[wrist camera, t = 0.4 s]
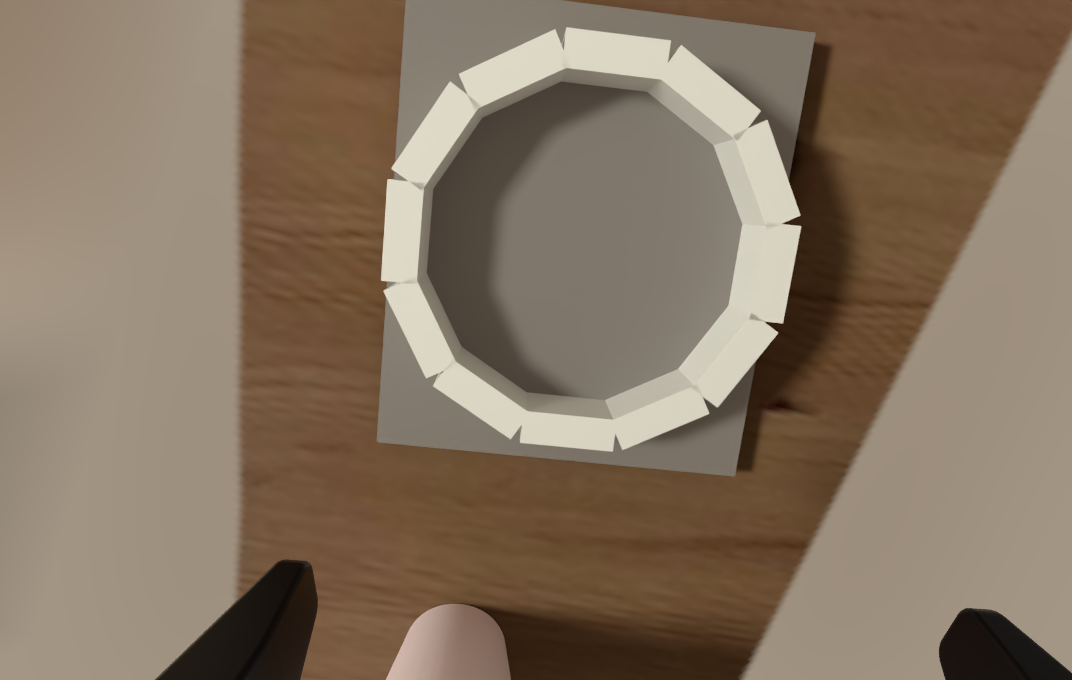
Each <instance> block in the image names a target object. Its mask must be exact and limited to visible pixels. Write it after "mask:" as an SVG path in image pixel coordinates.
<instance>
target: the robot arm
mask: <svg viewBox="0 0 1072 680" xmlns="http://www.w3.org/2000/svg"><path fill="white" fill-rule="evenodd" d="M317 607H318V598H317V592H316V586H315V581H314V575H313V569H312V566H311V564H310V563H309V562H307V561H299V560H281V561H279V562H277V563H276V564H275V565H273V566H272V567H271V568H270V569H269V570H268V571H267V572H266V573H265V574H264V575H263V576H262V577H261V578H260V579H259V580H258V581H257V582H256V583H255V584H254V585H253V586H252V587H251V588H250V589H249V590H247V591H246V592H245V593H244V594H243V595H242V596H241V597H240V598H239V599H238V600H237V601H236V602H235V603H234V604H233V605H232V606H231V607H230V608H229V609H228V610H227V611H226V612H225V613H224V614H223V615H222V616H221V617H219V618H218V619H217V620H216V622H214V623H213V624H212V625H211V626H210V627H209V628H208V629H207V630H206V631H205V632H204V633H203V634H202V635H201V636H200V637H199V638H198V639H197V640H196V641H195V642H194V643H192V644H191V645H190V646H189V647H188V648H187V649H186V650H185V651H184V652H183V653H182V654H181V655H180V656H179V657H178V658H177V659H176V660H175V661H174V662H173V663H172V664H171V665H170V666H169V667H168V668H167V669H166V670H164V671H163V672H162V673H161V674H160V675H159V676H158V677H157V678H156V679H155V680H300V678H301V674H302V670H303V666H304V662H305V658H306V654H307V650H308V646H309V642H310V638H311V635H312V631H313V627H314V623H315V619H316V614H317ZM939 657H940V662H941V666H942V669H943V673H944V676H945V679H946V680H1072V673H1071V672H1070V671H1069V670H1067V669H1066V668H1065V667H1064V666H1063V665H1062V664H1060V663H1059V662H1058V661H1057V660H1055V659H1054V658H1053V657H1052V656H1051V655H1050V654H1049V653H1047V652H1046V651H1045V650H1044V649H1043V648H1041V647H1040V646H1039V645H1037V643H1035V642H1034V641H1033V640H1032V639H1030V638H1029V637H1028V636H1027V635H1026V634H1025V633H1023V632H1022V631H1021V630H1020V629H1019V628H1017V627H1016V626H1015V625H1014V624H1013V623H1011V622H1010V621H1009V620H1008V619H1007V618H1005V617H1004V616H1003V615H1001V614H1000V613H998V612H996V611H993V610H987V609H973V608H966V609H964V610H962V611H961V612H960V613H959V614H958V615H957V617H956V619H955V620H954V622H953V623H952V625H951V626H950V628H949V629H948V631H947V633H946V634H945V636H944V638H943V639H942V641H941V643H940V647H939Z"/></svg>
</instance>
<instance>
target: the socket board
mask: <svg viewBox="0 0 1072 680" xmlns="http://www.w3.org/2000/svg"><path fill="white" fill-rule="evenodd" d="M815 34H816V33H813V32H805V31H797V30H789V29H781V28H774V27H766V26H758V25H750V24H742V23H734V22H727V21H719V20H711V19H703V18H695V17H687V16H680V15H672V14H664V13H656V12H648V11H641V10H633V9H625V8H617V7H609V6H601V5H594V4H586V3H578V2H570V1H562V0H406V5H405V21H404V36H403V51H402V66H401V81H400V96H399V111H398V127H397V142H396V157H395V164H394V165H393V167H392V168H391V169H392V170H394V171H395V172H394V180H392V179H388V181H387V196H386V212H385V227H384V243H383V259H382V274H381V281H387V289H385V290H384V291H383V292H384V294H385V296H386V308H385V323H384V339H383V354H382V369H381V384H380V399H379V414H378V429H377V442H380V443H390V444H401V445H411V446H422V447H432V448H443V449H453V450H464V451H474V452H485V453H495V454H505V455H516V456H526V457H537V458H547V459H558V460H568V461H579V462H589V463H600V464H610V465H621V466H631V467H641V468H652V469H662V470H673V471H683V472H694V473H704V474H715V475H725V476H735V473H736V467H737V462H738V456H739V451H740V446H741V440H742V435H743V429H744V424H745V418H746V413H747V407H748V402H749V396H750V391H751V385H752V380H753V374H754V369H755V363H756V360H757V359H758V358H759V356H760V355H761V354H762V353H763V351H764V350H765V349H766V348H767V347H768V345H769V344H770V343H771V342H772V340H773V339H774V338H775V337H776V335H777V334H778V332H777V331H775V330H774V329H773V328H771V327H770V326H769V325H768V324H766V323H765V322H773V323H783V321H784V316H785V310H786V305H787V300H788V294H789V289H790V284H791V278H792V273H793V268H794V262H795V257H796V252H797V247H798V241H799V236H800V231H801V226H796V225H787V224H782V223H785V222H787V221H789V220H791V219H794V218H796V217H798V216H801V215H800V212H799V209H798V206H797V204H796V201H795V198H794V195H793V192H792V189H791V186H790V183H789V177H790V171H791V166H792V160H793V155H794V149H795V144H796V138H797V133H798V127H799V122H800V117H801V111H802V106H803V100H804V95H805V89H806V84H807V78H808V73H809V67H810V62H811V56H812V51H813V45H814V40H815Z"/></svg>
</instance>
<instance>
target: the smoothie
mask: <svg viewBox="0 0 1072 680" xmlns="http://www.w3.org/2000/svg"><path fill="white" fill-rule="evenodd" d="M386 680H511V677H510V670H509V664H508V657H507V651H506V644H505V639H504V636H503V633H502V631H501V629H500V627H499V626H498V624H497V623H496V622H495V620H494V619H493V618H492V617H490V616H489V615H488V614H487V613H485V612H484V611H482V610H480V609H478V608H475V607H473V606H469V605H465V604H445V605H441V606H437V607H434V608H432V609H430V610H428V611H426V612H425V613H423V614H422V615H421V616H420V617H418V618H417V620H416V621H415V622H414V623H413V624H412V626H411V627H410V629H409V631H408V633H407V636H406V638H405V640H404V642H403V644H402V646H401V648H400V651H399V653H398V655H397V657H396V659H395V661H394V663H393V666H392V668H391V670H390V672H389V674H388V676H387V678H386Z"/></svg>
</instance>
